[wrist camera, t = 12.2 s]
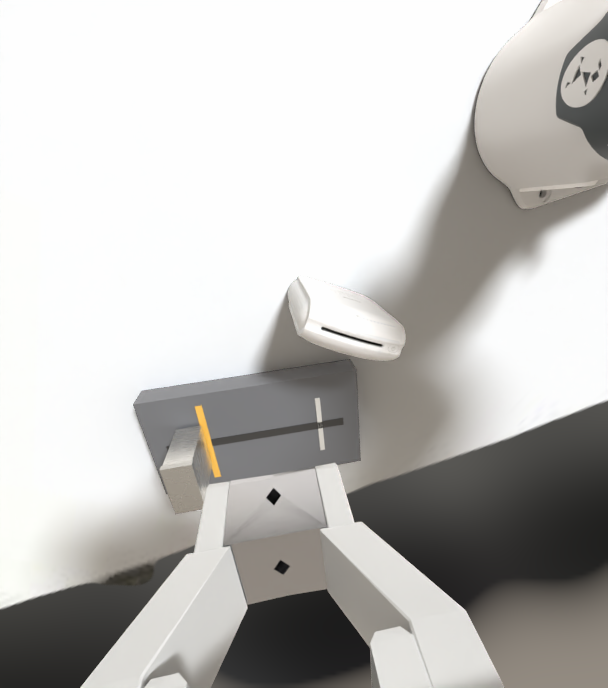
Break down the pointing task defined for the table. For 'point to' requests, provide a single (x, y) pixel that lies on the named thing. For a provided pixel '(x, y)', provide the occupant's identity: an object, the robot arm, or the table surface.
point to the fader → (187, 469)
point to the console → (260, 419)
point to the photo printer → (344, 321)
